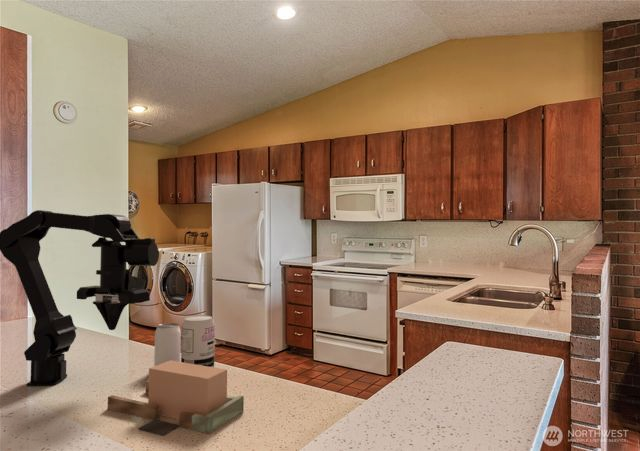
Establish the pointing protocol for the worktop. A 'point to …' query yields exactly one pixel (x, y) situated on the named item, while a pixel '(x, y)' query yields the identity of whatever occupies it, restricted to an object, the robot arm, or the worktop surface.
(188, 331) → the supplement can
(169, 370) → the brick
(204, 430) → the lane
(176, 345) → the can
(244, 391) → the worktop surface
